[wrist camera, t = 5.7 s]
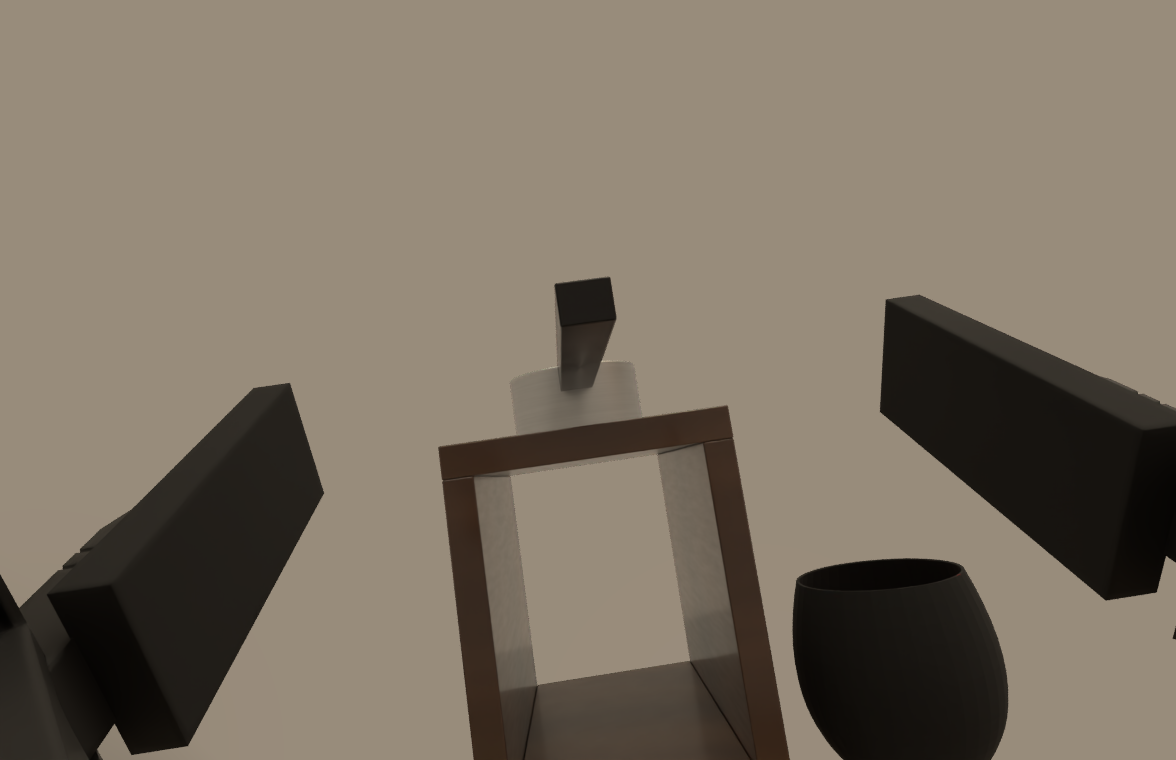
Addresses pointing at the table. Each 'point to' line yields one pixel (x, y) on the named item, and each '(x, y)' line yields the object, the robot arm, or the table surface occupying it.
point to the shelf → (707, 592)
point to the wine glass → (899, 661)
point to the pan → (578, 367)
